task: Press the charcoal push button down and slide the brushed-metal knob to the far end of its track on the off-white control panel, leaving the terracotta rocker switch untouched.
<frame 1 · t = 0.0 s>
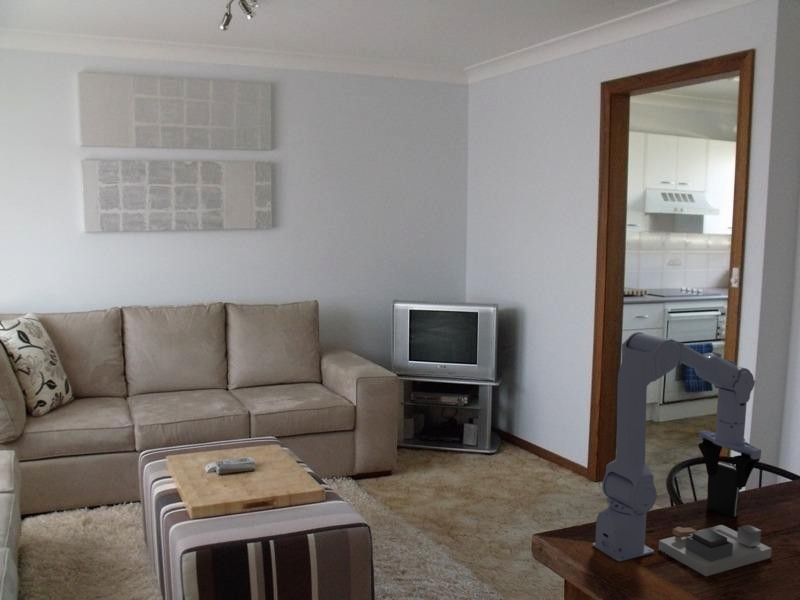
hand: (726, 480, 162), 10 cm above the table, tool pointing down, fingers open, 7 cm apart
rocker switch: (685, 532, 151), point 4 cm above the table, hinge at 8.0°
slider knob: (748, 535, 149), point 4 cm above the table, slide at 0.0 cm
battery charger: (723, 512, 170), on the table
push button: (709, 540, 146), point 5 cm above the table, slide at 0.0 cm
control panel: (714, 553, 150), on the table
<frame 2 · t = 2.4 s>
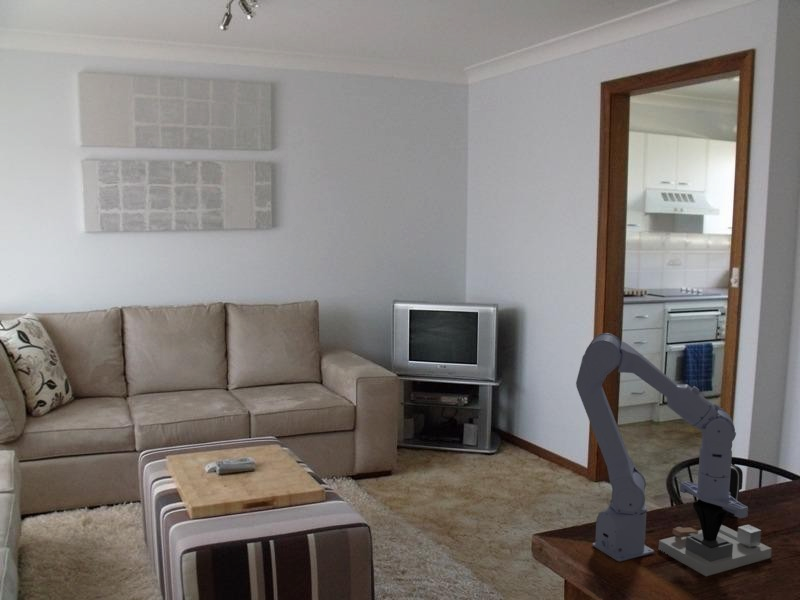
hand: (709, 539, 145), 5 cm above the table, tool pointing down, fingers closed, pressing on push button
push button: (709, 543, 146), point 4 cm above the table, slide at 0.7 cm, touching gripper
everything else where it was.
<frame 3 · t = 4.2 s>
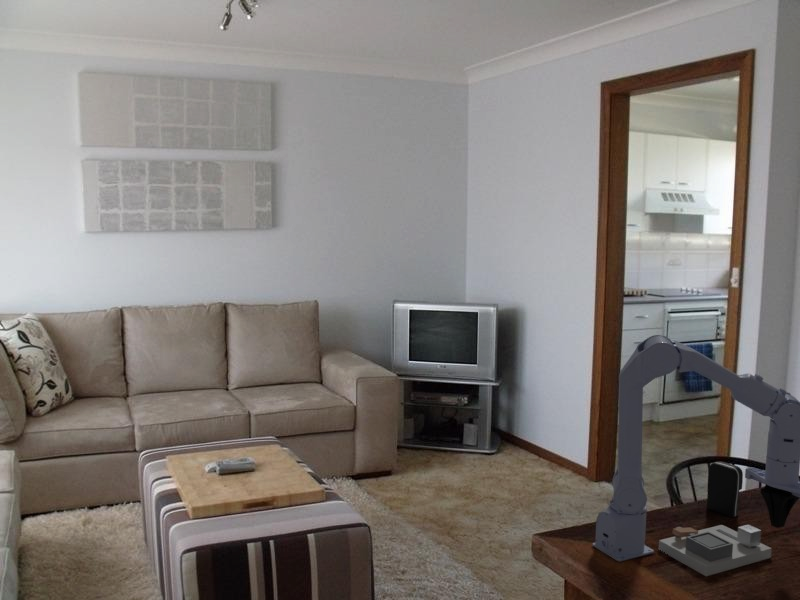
hand: (777, 525, 143), 9 cm above the table, tool pointing down, fingers closed
push button: (709, 545, 146), point 3 cm above the table, slide at 1.1 cm
everything else where it was.
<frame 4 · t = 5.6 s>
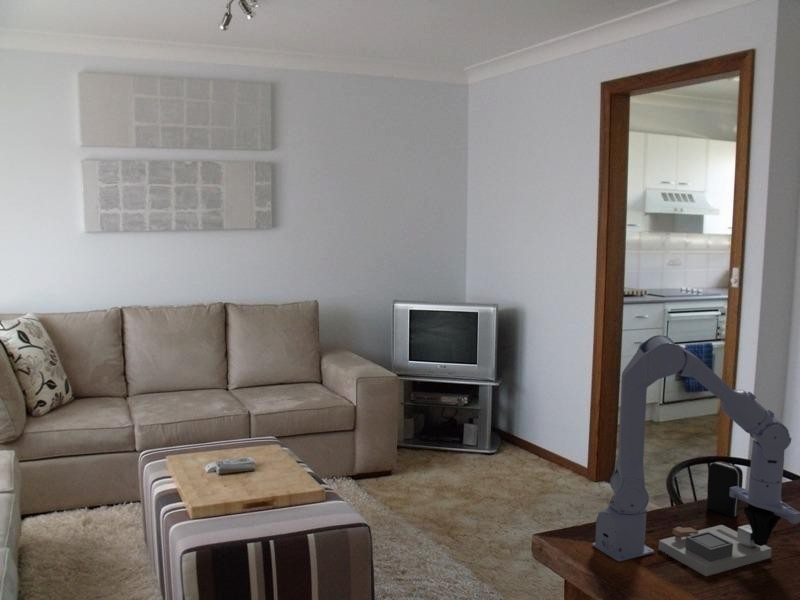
hand: (760, 543, 147), 3 cm above the table, tool pointing down, fingers closed
slider knob: (748, 535, 149), point 4 cm above the table, slide at 0.0 cm, touching gripper
everything else where it was.
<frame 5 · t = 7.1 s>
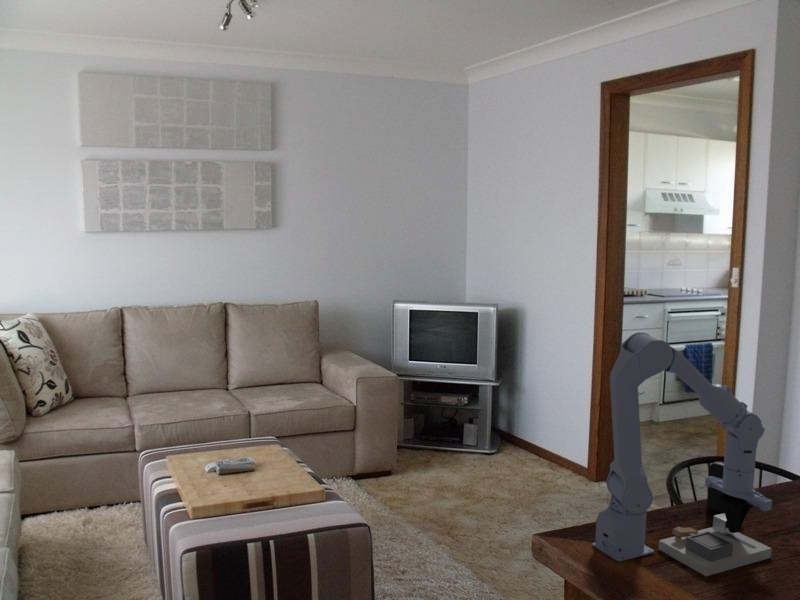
hand: (734, 531, 152), 3 cm above the table, tool pointing down, fingers closed
slider knob: (724, 524, 154), point 4 cm above the table, slide at 6.1 cm, touching gripper
everything else where it was.
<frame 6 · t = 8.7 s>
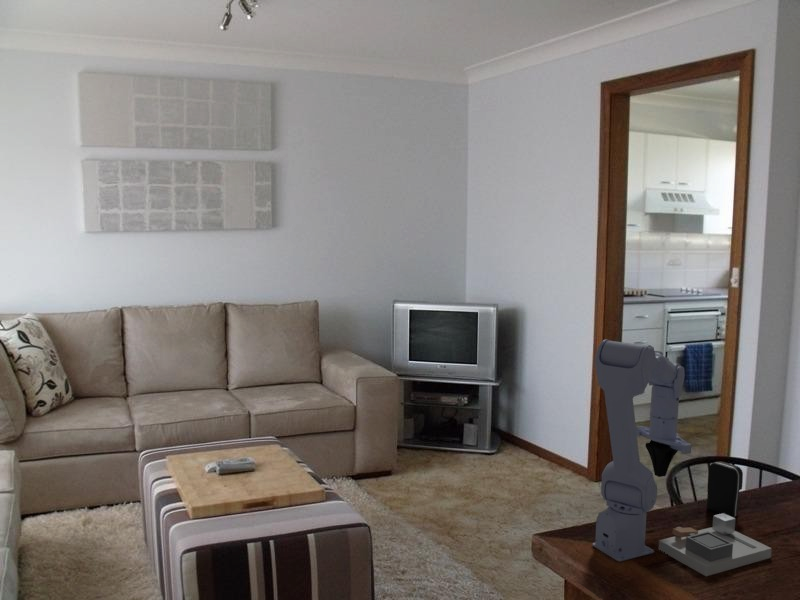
hand: (660, 475, 164), 10 cm above the table, tool pointing down, fingers closed
slider knob: (723, 523, 154), point 4 cm above the table, slide at 6.1 cm
everything else where it was.
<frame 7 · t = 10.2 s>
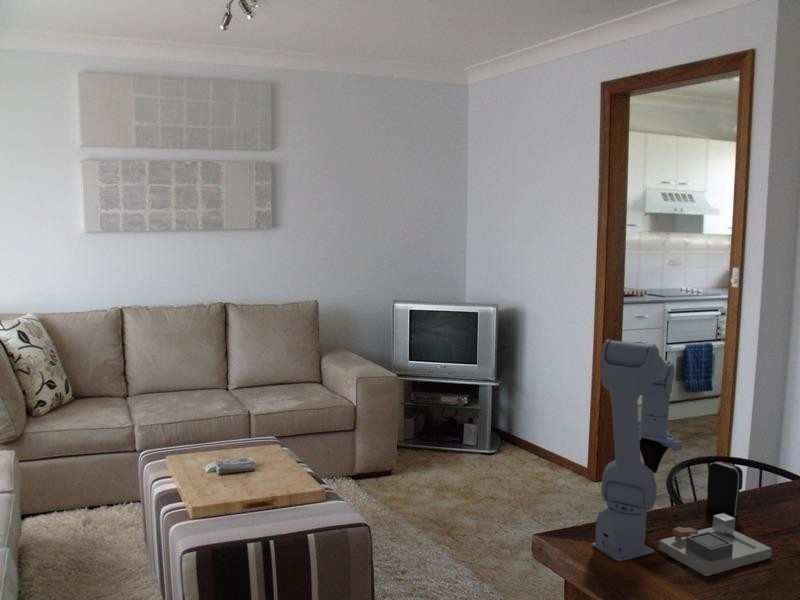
hand: (651, 472, 166), 10 cm above the table, tool pointing down, fingers closed
nothing on the table moved.
at the end: push button slide at 1.1 cm; slider knob slide at 6.1 cm; rocker switch at +8° (first picture: +8°) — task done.
